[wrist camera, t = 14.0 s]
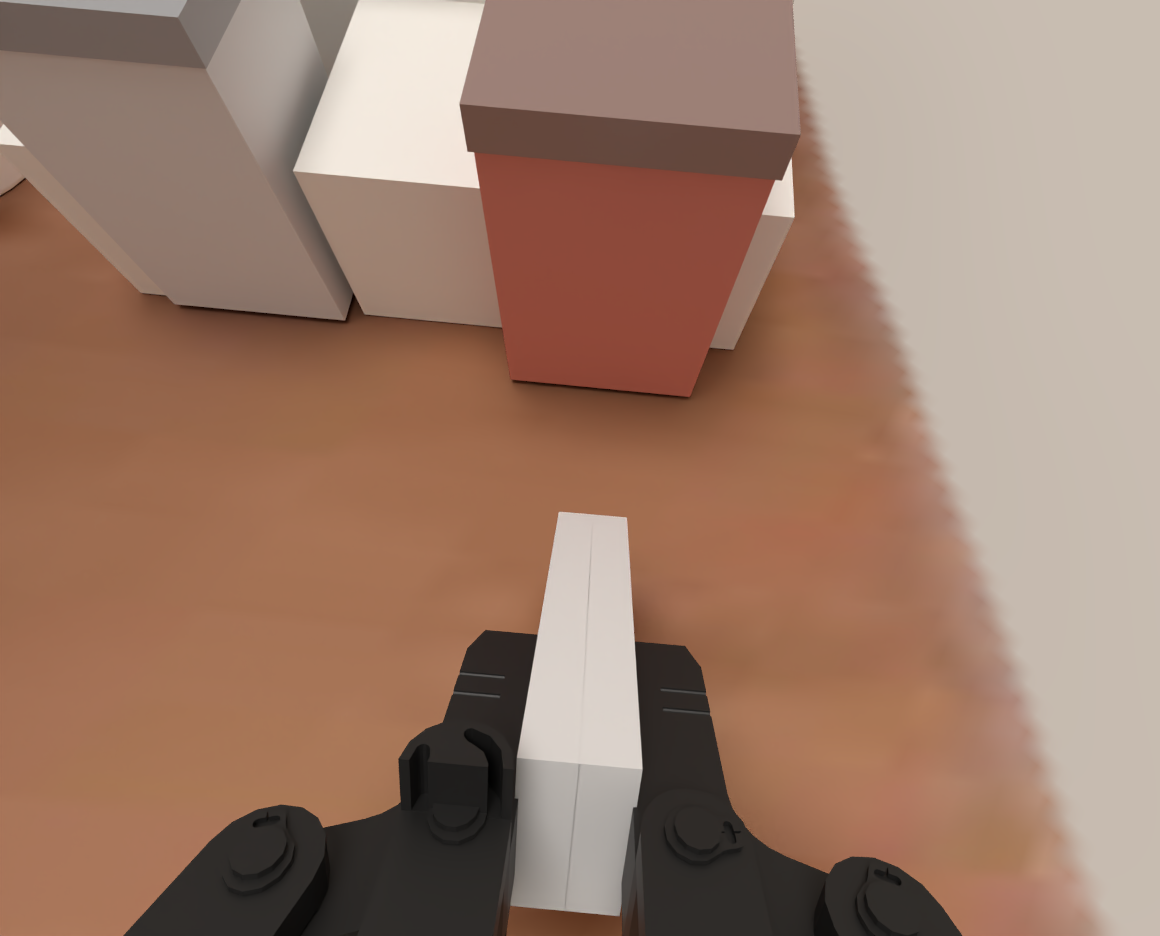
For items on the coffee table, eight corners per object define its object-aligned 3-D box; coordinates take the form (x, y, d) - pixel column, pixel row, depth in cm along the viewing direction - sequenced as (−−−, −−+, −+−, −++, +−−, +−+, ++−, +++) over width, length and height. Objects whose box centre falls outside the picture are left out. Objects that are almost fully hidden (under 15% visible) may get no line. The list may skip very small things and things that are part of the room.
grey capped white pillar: (170, 306, 21) (-135, -11, 12) (219, 194, 23) (-9, -150, 14) (347, 323, 21) (178, 17, 12) (381, 209, 23) (258, -127, 14)
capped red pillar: (507, 381, 20) (459, 104, 11) (527, 259, 22) (501, -62, 13) (692, 399, 20) (800, 134, 11) (696, 274, 22) (789, -38, 13)
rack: (140, 292, 21) (-188, -35, 12) (227, 107, 25) (27, -253, 16) (733, 349, 21) (867, 59, 12) (733, 154, 24) (835, -187, 15)
